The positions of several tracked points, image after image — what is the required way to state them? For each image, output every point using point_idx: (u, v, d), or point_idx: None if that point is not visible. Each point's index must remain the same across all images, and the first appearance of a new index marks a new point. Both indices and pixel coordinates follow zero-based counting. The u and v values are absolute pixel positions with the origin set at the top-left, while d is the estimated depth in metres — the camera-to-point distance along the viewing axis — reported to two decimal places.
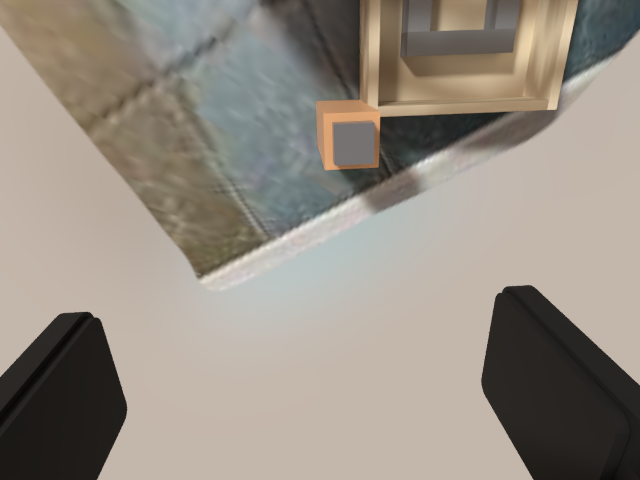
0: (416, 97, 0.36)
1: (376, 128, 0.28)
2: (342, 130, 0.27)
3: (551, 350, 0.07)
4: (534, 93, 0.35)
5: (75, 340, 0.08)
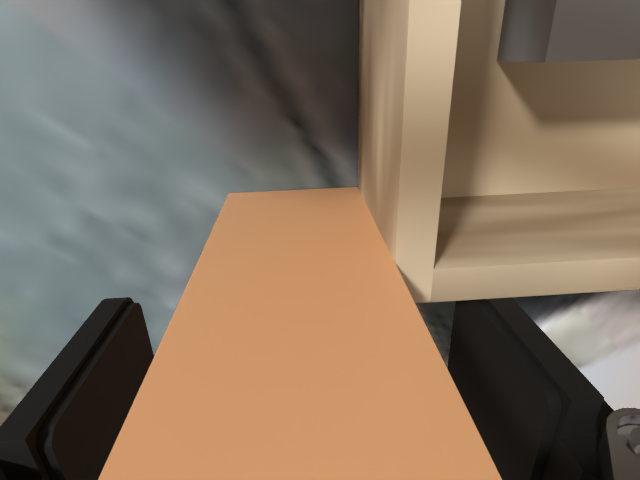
0: (534, 184, 0.12)
1: None
2: None
3: (500, 335, 0.08)
4: None
5: (121, 323, 0.08)
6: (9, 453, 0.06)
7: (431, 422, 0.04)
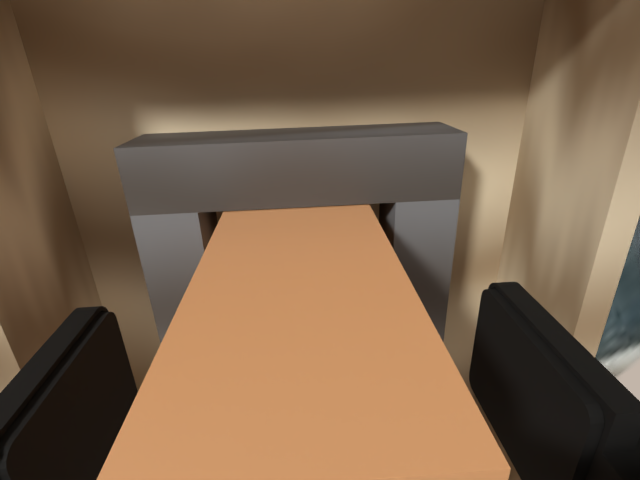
0: None
1: None
2: None
3: (532, 344, 0.07)
4: None
5: (92, 333, 0.08)
6: None
7: (425, 381, 0.05)
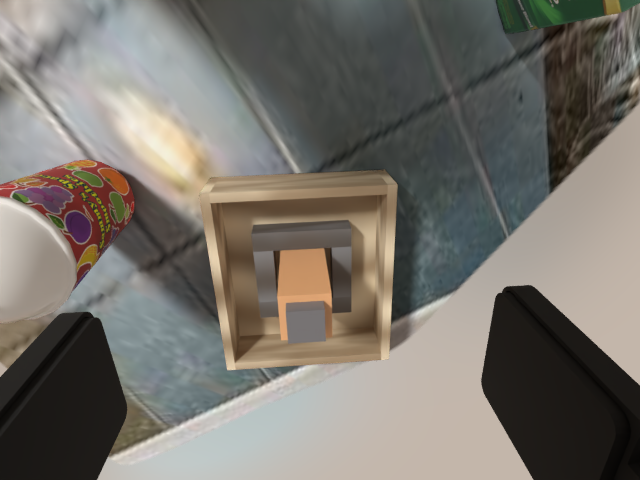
0: None
1: (328, 306, 0.30)
2: (293, 316, 0.29)
3: (551, 350, 0.07)
4: (376, 335, 0.41)
5: (75, 340, 0.08)
6: None
7: (324, 285, 0.30)
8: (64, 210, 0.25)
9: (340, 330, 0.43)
